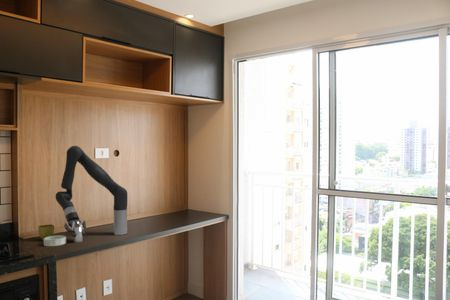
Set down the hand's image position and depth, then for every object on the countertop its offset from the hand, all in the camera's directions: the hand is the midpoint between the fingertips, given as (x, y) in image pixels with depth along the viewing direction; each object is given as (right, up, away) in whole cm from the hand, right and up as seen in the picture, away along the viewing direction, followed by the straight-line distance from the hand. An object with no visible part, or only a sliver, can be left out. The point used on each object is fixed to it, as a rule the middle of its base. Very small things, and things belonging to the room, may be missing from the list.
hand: (79, 235), depth 237 cm
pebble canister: (-1, -4, +1) cm, 5 cm away
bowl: (-14, -4, -4) cm, 15 cm away
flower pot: (-27, -5, +10) cm, 29 cm away
